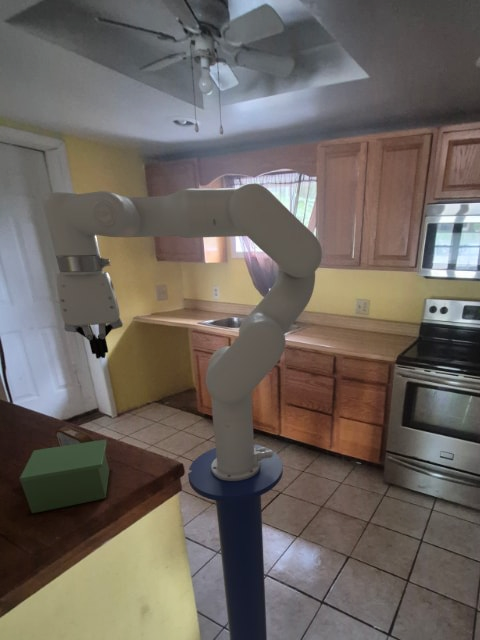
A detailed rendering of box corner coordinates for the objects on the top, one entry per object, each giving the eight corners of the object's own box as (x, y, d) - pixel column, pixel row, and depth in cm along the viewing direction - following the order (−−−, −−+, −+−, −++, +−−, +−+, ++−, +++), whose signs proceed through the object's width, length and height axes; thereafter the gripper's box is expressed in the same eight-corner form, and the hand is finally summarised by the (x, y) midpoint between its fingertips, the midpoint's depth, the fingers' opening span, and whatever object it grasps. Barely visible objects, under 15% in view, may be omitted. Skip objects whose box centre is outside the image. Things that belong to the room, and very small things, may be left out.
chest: (109, 470, 90) (103, 442, 87) (105, 498, 80) (98, 468, 77) (44, 482, 85) (34, 453, 82) (31, 513, 75) (20, 482, 72)
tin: (105, 465, 92) (97, 435, 88) (92, 471, 89) (85, 441, 86) (70, 449, 99) (63, 420, 95) (58, 454, 96) (50, 425, 93)
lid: (106, 442, 87) (106, 439, 86) (102, 467, 77) (101, 464, 77) (34, 453, 82) (33, 450, 82) (20, 481, 72) (19, 478, 72)
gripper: (123, 263, 78) (138, 348, 85) (40, 265, 72) (64, 355, 80) (122, 265, 71) (139, 357, 79) (30, 268, 66) (58, 365, 73)
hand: (101, 356), depth 79 cm, fingers closed
